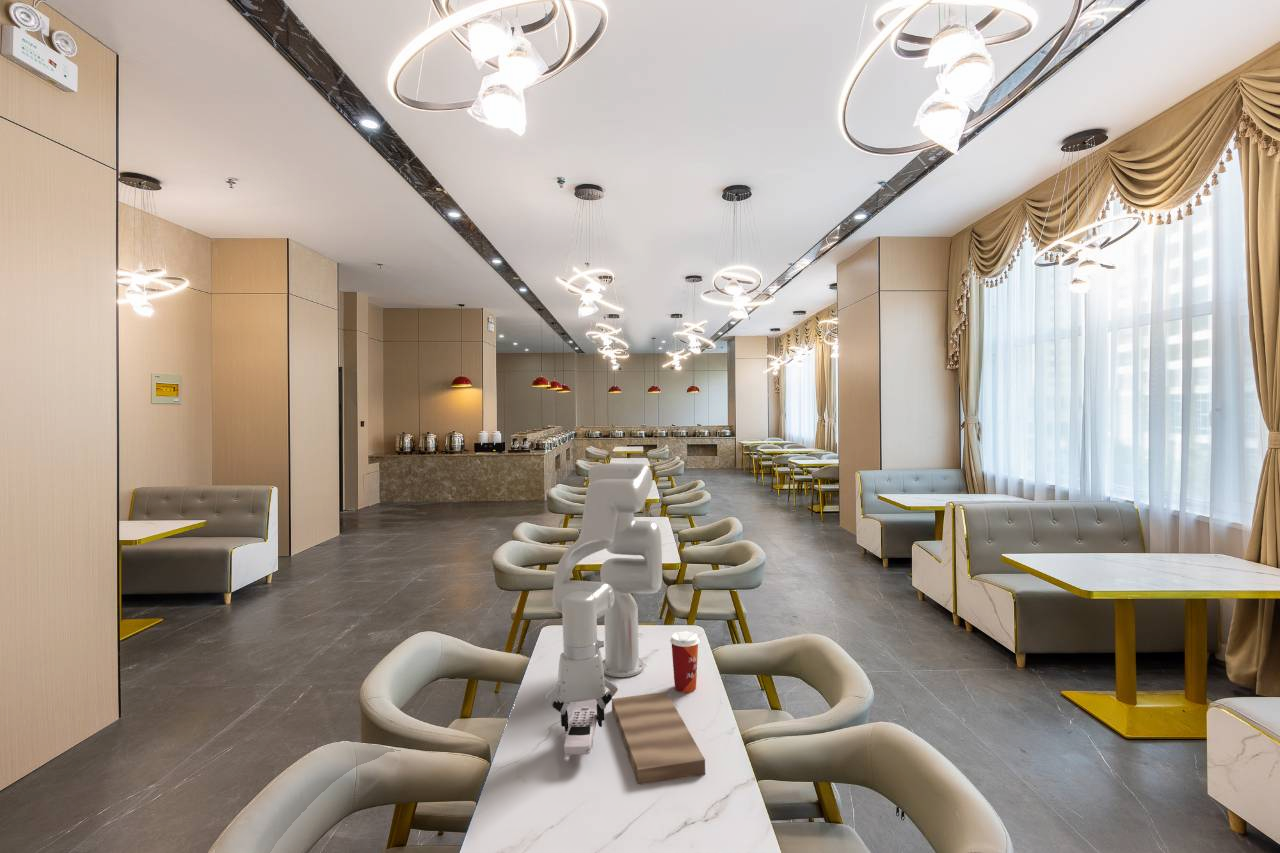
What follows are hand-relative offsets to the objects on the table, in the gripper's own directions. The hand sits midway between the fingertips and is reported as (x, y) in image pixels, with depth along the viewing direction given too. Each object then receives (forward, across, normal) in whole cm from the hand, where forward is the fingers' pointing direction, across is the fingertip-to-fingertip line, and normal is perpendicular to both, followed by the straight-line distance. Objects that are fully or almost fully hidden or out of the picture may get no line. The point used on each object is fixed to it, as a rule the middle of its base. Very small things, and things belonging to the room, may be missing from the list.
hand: (582, 725), depth 137 cm
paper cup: (+5, -30, -19) cm, 36 cm away
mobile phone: (+1, 0, 0) cm, 1 cm away
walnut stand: (+4, -16, +3) cm, 16 cm away
